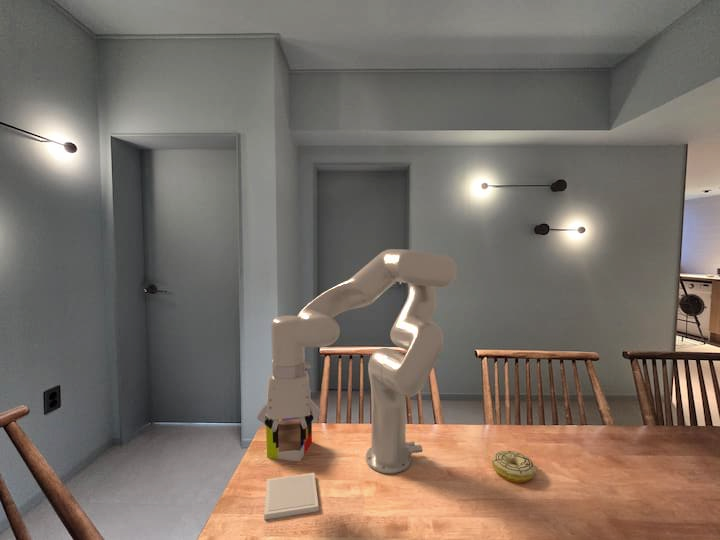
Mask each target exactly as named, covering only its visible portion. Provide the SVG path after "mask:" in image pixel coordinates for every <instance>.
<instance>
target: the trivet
mask: <svg viewBox="0 0 720 540" xmlns="http://www.w3.org/2000/svg"><path fill="white" fill-rule="evenodd" d="M315 475H316V474H315V472H310V473H309V472H308V473H302V474H296V475H287V476H279V477H273V478H267V479H266V486H265V499H264V500H265V501H264V510H263V511H264V513H263V514H264V515H263V517H264V519H263V520H271V519H276V518H283V517H289V516H290V517H291V516H295V515H303V514H309V513H310V514H311V513H315V512H320V511H319V510H320V509H319V500H318V499H319V498H318V492H317V484H316V483H317V482H316V476H315Z"/></svg>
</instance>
